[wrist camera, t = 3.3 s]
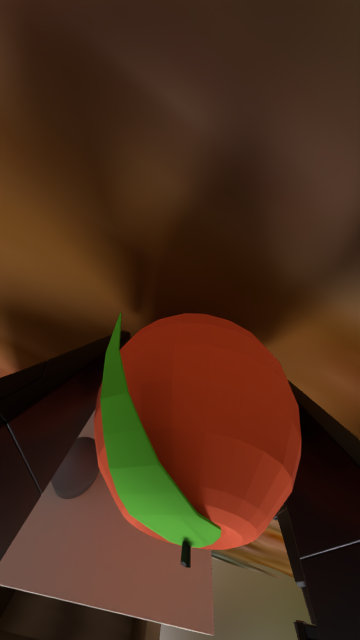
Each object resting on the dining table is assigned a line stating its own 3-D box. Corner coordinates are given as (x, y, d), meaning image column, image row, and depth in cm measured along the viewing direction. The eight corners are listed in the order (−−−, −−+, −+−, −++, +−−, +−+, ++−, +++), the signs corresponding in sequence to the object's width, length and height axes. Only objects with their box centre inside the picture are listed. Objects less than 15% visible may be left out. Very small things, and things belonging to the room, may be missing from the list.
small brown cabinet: (174, 483, 18) (151, 713, 9) (157, 516, 24) (133, 675, 16) (46, 452, 18) (-99, 655, 9) (60, 493, 24) (-19, 639, 15)
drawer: (211, 426, 11) (225, 637, 5) (172, 495, 18) (159, 626, 12) (5, 375, 11) (-216, 533, 5) (41, 463, 18) (-40, 579, 12)
